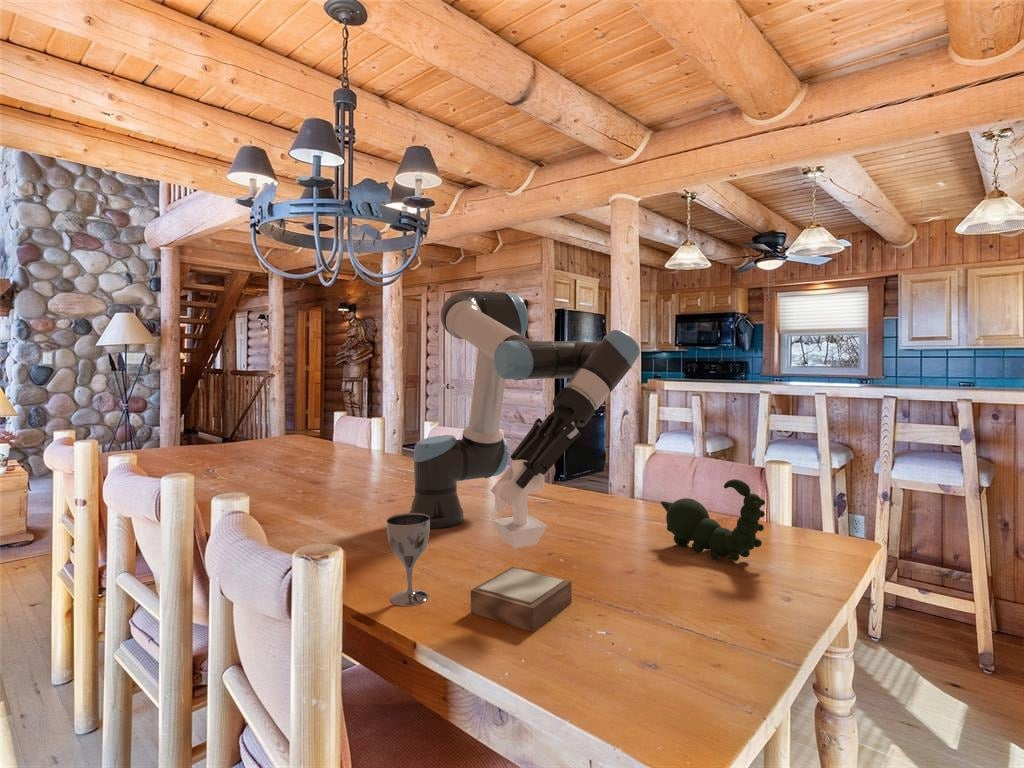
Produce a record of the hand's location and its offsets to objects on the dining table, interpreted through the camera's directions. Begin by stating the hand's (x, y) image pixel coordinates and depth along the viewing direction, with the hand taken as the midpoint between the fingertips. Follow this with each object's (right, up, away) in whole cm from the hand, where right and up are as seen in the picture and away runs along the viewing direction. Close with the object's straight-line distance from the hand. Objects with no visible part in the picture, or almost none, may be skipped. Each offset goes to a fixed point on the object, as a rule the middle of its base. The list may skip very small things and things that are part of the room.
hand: (500, 497), depth 95 cm
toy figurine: (+46, -19, +29) cm, 58 cm away
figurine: (+3, -9, +3) cm, 10 cm away
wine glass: (-17, -21, +7) cm, 28 cm away
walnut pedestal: (+4, -20, +2) cm, 21 cm away
